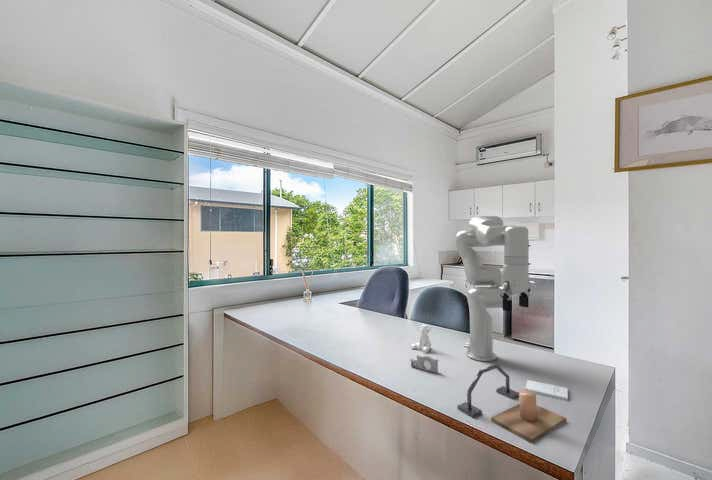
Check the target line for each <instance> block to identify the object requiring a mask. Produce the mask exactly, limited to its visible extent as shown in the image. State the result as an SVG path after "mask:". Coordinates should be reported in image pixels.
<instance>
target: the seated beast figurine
mask: <svg viewBox="0 0 712 480" xmlns="http://www.w3.org/2000/svg"><path fill="white" fill-rule="evenodd" d="M431 330H432V327H431V328H430V327H429V326H428V325H426V324H421V325H420V328H419V333H420V334H419V335H418V342H416V343H413V344H411V345H410V349H411V350H417V349H418V351H421V352H423V353H424V354H428V353H429V351H430V349H431V347H432V343H431V341H430V339H429V338H430V336H429V335H428V334H429V333H430V331H431ZM427 352H428V353H427Z"/></svg>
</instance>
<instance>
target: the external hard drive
mask: <svg viewBox="0 0 712 480" xmlns="http://www.w3.org/2000/svg"><path fill="white" fill-rule="evenodd" d="M524 390H528V391H532V392H534V393H535V394H536V395H541V396H545V397H549V398H555V399H559V400H562V401H568V400H569V395H568V394H569V392H568V391H569V389H568V388H567V387H563V386H558V385H553V384H549V383H543V382H538V381H534V380H530V379H529V380H528V379H527V380H526V385H525V389H524Z"/></svg>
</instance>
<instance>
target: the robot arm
mask: <svg viewBox="0 0 712 480" xmlns="http://www.w3.org/2000/svg"><path fill="white" fill-rule="evenodd" d="M468 228H469V229H465V230H460V231H458V232H457V233H456V235H455V247H456V249H457V253H458V255H459V256H460V258H461V260H462V264H463V268H464V273H465V278H466V281H467V283H468V284H469V286H472V288H470V289H468V291H467V294H466V298H467V304H468V308H469V310H468V311H469V341H465V343H464V347H465V348H467V352H466V355H467V357H468V358H470V359H472V360H475V361H478V362H493V361H495V360H497V357H498V356H497V354H496V352H494V350H493V349H494V348H493V347H494V345H493V343H494V342H493V317H492V316H491V314H490V312H488V311H487V310H488V309H502V310H503V311H505V312H509V313H510V312H513V300H512V298H513V296H514V295H518V294H519V295H518V306H519V307H523V308H526V309H527V308H529V297H530V292H531V287H532V282H530V277H529V276H530V275H529V228H528V227H526V226H522V225H521V226H520V225H519V226H517V225H504V221H503V219H502V218H501V217H500V216H497V215H478V216H474V217H472V218H471V219H470V220H469V222H468ZM493 246H496V247H499V246H501V247H502V246H503V247H504V250H503V251H504V252H503V254H504V258H503V260H504V261H503V262H504V265H503V266H502V270H501V269H500V268H499V267H498V266H496V265H484V264H483V263H482V259H481V256H480V254H479V253H478V252H477V251H476V250H475V249H473V248H486V247H493ZM473 286H474V287H473Z"/></svg>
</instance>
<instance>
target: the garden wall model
mask: <svg viewBox="0 0 712 480" xmlns="http://www.w3.org/2000/svg"><path fill="white" fill-rule="evenodd" d="M439 362H440V361H439V359H435V358H433V357H431V356H429V355H422V356H421V355H418V354H416V359H414V358H410V367H413V368H416V369H421V370H424V371H426V372H433V373H438V372H439Z"/></svg>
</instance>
